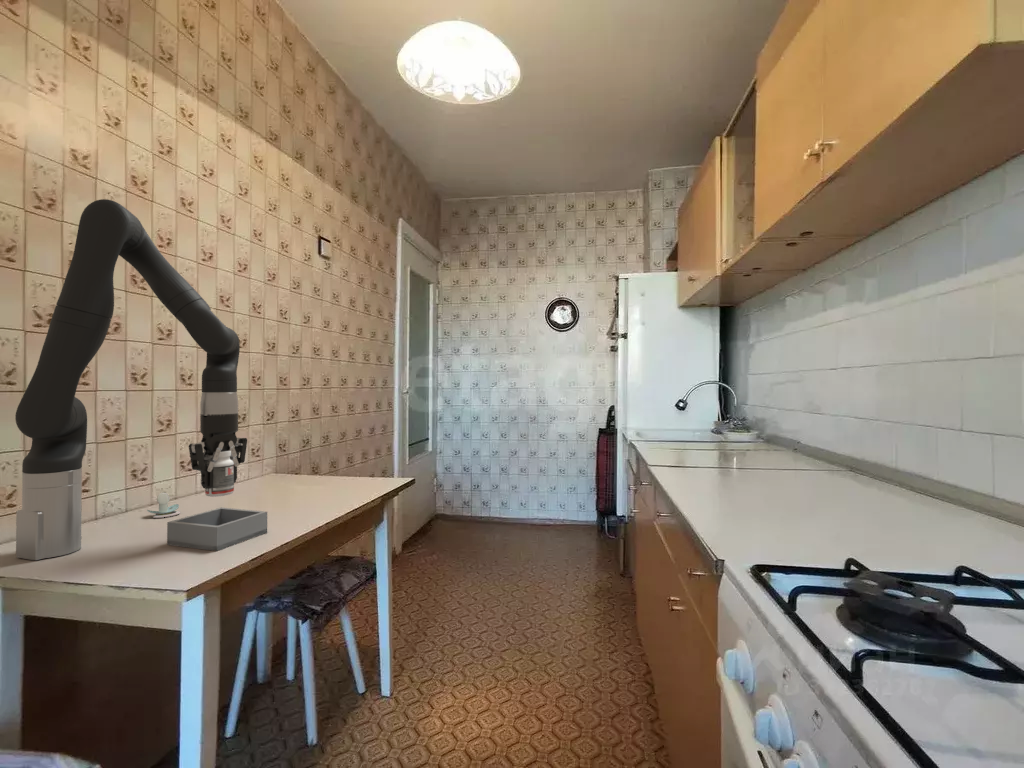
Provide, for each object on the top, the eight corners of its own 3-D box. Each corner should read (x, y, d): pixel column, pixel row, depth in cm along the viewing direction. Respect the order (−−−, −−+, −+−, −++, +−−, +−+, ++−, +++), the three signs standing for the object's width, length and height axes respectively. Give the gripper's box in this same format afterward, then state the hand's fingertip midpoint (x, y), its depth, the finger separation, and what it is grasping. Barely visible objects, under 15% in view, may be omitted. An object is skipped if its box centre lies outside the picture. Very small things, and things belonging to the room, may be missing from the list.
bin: (217, 551, 106) (217, 527, 106) (167, 544, 110) (167, 522, 110) (267, 532, 119) (267, 511, 119) (221, 527, 123) (221, 507, 123)
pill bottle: (239, 492, 117) (239, 449, 117) (223, 497, 112) (223, 452, 112) (216, 491, 118) (216, 449, 118) (199, 496, 112) (199, 452, 112)
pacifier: (185, 515, 137) (173, 511, 140) (185, 492, 136) (174, 489, 140) (155, 521, 130) (144, 517, 133) (155, 497, 130) (144, 494, 133)
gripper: (232, 410, 123) (232, 479, 123) (178, 413, 109) (177, 491, 109) (257, 410, 121) (257, 480, 121) (204, 414, 107) (204, 493, 107)
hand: (219, 485), depth 115 cm, fingers closed on pill bottle, 5 cm apart
